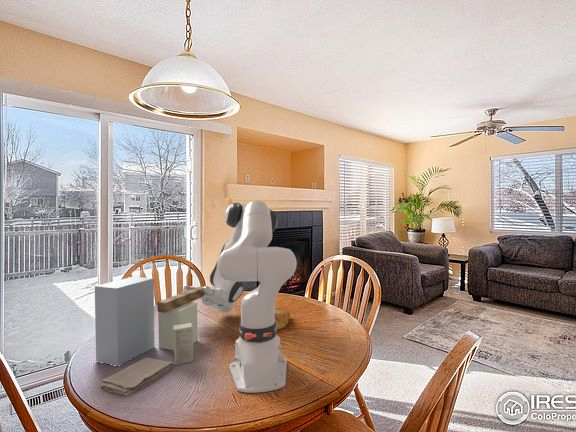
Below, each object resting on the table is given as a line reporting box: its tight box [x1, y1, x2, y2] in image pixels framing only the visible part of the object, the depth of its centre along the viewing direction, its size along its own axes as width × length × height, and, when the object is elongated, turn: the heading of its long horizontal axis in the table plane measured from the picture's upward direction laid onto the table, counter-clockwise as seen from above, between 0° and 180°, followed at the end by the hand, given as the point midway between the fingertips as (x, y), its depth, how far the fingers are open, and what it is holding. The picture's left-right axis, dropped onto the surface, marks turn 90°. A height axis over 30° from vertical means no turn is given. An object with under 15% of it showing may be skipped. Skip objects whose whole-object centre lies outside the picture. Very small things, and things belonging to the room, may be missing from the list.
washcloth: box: [100, 357, 175, 397], centre depth 95 cm, size 12×18×3 cm, turn 157°
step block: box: [157, 301, 199, 351], centre depth 118 cm, size 10×10×15 cm
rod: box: [156, 285, 210, 313], centre depth 122 cm, size 26×4×4 cm, turn 159°
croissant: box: [275, 308, 290, 331], centre depth 138 cm, size 21×10×8 cm, turn 156°
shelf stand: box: [94, 276, 156, 367], centre depth 110 cm, size 16×10×26 cm, turn 159°
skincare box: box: [173, 323, 194, 366], centre depth 105 cm, size 6×4×12 cm
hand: (194, 287), depth 128 cm, fingers open, 8 cm apart
